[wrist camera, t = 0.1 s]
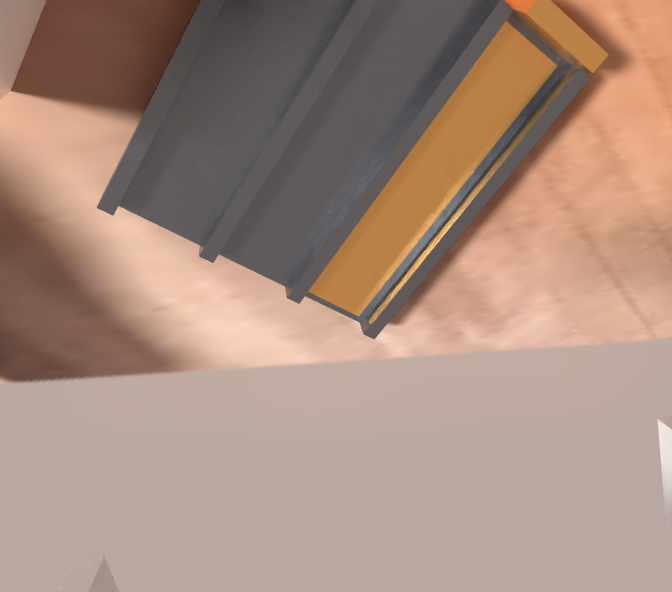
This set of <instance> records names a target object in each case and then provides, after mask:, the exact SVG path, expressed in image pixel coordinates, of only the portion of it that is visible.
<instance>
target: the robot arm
mask: <svg viewBox="0 0 672 592" xmlns="http://www.w3.org/2000/svg"><path fill="white" fill-rule="evenodd" d="M658 428H659V441H660V454H661V466H662V480H663V492H664V505H665V517H666V519H667V520H668V521H669V522H670V523H671V524H672V416H668V417H665V418H660V419H658ZM57 592H119V591H118V589H117V586H116V584H115V581H114V579H113V576H112V574H111V571H110V569H109V566H108V564H107V561H106V559H105V556H102V557H98V558H94V559H90V560H86V561H82V562H78V563H74V564H71V566H70V568H69V570H68V572H67V574H66V576H65V578H64V580H63V582H62V584H61V586H60V588H59V589H58V591H57Z"/></svg>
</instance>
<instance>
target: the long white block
mask: <svg viewBox="0 0 672 592" xmlns="http://www.w3.org/2000/svg"><path fill="white" fill-rule="evenodd" d="M45 3H46V0H0V99H1V98H2V97H4V96H5V95H6V94H8V93H9V92H10V91H11V89H12V86H13V84H14V81H15V79H16V76H17V74H18V71H19V68H20V66H21V63H22V61H23V58H24V56H25V53H26V51H27V48H28V46H29V43H30V41H31V38H32V36H33V33H34V30H35V28H36V25H37V23H38V20H39V18H40V15H41V13H42V10H43V8H44V5H45Z"/></svg>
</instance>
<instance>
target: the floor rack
mask: <svg viewBox="0 0 672 592" xmlns="http://www.w3.org/2000/svg"><path fill="white" fill-rule="evenodd" d="M608 55H609V54H608V53H607V52H606V51H605V50H603V49H602V48H601V47H600V46H599V45H598V44H597V43H596V42H595V41H594V40H593V39H592V38H591V37H590V36H588V35H587V34H586V33H585V32H584V31H583V30H582V29H581V28H580V27H579V26H578V25H577V24H576V23H575V22H573V21H572V20H571V19H570V18H569V17H568V16H567V15H566V14H565V13H564V12H563V11H562V10H561V9H560V8H558V7H557V6H556V5H555V4H554V3H553V2H552V1H551V0H200V2H199V4H198V6H197V8H196V10H195V12H194V14H193V16H192V18H191V20H190V22H189V24H188V26H187V28H186V30H185V32H184V34H183V36H182V38H181V40H180V42H179V44H178V46H177V48H176V50H175V52H174V54H173V56H172V58H171V60H170V62H169V64H168V66H167V68H166V70H165V72H164V74H163V76H162V78H161V80H160V82H159V84H158V86H157V88H156V90H155V92H154V94H153V96H152V98H151V100H150V102H149V104H148V106H147V108H146V110H145V112H144V114H143V116H142V118H141V120H140V122H139V124H138V126H137V128H136V130H135V132H134V133H133V135H132V137H131V139H130V141H129V143H128V145H127V147H126V149H125V151H124V153H123V155H122V157H121V159H120V161H119V163H118V165H117V167H116V169H115V171H114V173H113V175H112V177H111V179H110V181H109V183H108V185H107V187H106V189H105V191H104V193H103V195H102V198H101V200H100V202H99V204H98V206H97V208H98V209H100V210H103V211H105V212H107V213H109V214H111V215H114V213H115V211H116V209H117V207H118V206H120V207H122V208H124V209H126V210H128V211H130V212H132V213H134V214H137V215H139V216H141V217H143V218H145V219H147V220H149V221H151V222H153V223H155V224H157V225H159V226H161V227H163V228H166V229H168V230H170V231H172V232H174V233H176V234H178V235H180V236H182V237H184V238H186V239H188V240H190V241H192V242H194V243H197V244H199V245H200V250H199V256H200V257H202V258H204V259H206V260H208V261H210V262H212V263H213V262H214V261H215V259H216V257H217V256H218V254H219V255H221V256H223V257H226V258H228V259H230V260H232V261H234V262H236V263H238V264H240V265H242V266H244V267H246V268H248V269H250V270H252V271H254V272H257V273H259V274H261V275H263V276H265V277H267V278H269V279H271V280H273V281H275V282H277V283H279V284H281V285H283V286H285V288H286V295H287V298H288V299H290V300H292V301H294V302H297V303H300V302H301V301H302V299H303V298H304V297H305V296H306V297H308V298H310V299H312V300H315V301H317V302H319V303H321V304H323V305H325V306H327V307H329V308H331V309H333V310H335V311H337V312H339V313H341V314H343V315H346V316H348V317H350V318H352V319H354V320H356V321H358V322H360V325H361V328H362V331H363V334H364V335H366V336H368V337H370V338H373V339H375V338H376V337H377V336H378V334H379V333H380V332H381V331H382V329H383V328H384V327H385V326H386V325H387V323H388V322H389V321H390V320H391V319H392V317H393V316H394V315H395V314H396V313H397V311H398V310H399V309H400V308H401V306H402V305H403V304H404V303H405V302H406V300H407V299H408V298H409V297H410V296H411V294H412V293H413V292H414V291H415V290H416V288H417V287H418V286H419V285H420V283H421V282H422V281H423V280H424V279H425V277H426V276H427V275H428V274H429V273H430V271H431V270H432V269H433V268H434V267H435V265H436V264H437V263H438V262H439V260H440V259H441V258H442V257H443V256H444V254H445V253H446V252H447V251H448V250H449V248H450V247H451V246H452V245H453V244H454V242H455V241H456V240H457V239H458V237H459V236H460V235H461V234H462V233H463V231H464V230H465V229H466V228H467V227H468V225H469V224H470V223H471V222H472V221H473V219H474V218H475V217H476V216H477V214H478V213H479V212H480V211H481V210H482V208H483V207H484V206H485V205H486V204H487V202H488V201H489V200H490V199H491V198H492V196H493V195H494V194H495V193H496V191H497V190H498V189H499V188H500V187H501V185H502V184H503V183H504V182H505V181H506V179H507V178H508V177H509V176H510V175H511V173H512V172H513V171H514V170H515V168H516V167H517V166H518V165H519V164H520V162H521V161H522V160H523V159H524V158H525V156H526V155H527V154H528V153H529V152H530V150H531V149H532V148H533V147H534V145H535V144H536V143H537V142H538V141H539V139H540V138H541V137H542V136H543V135H544V133H545V132H546V131H547V130H548V129H549V127H550V126H551V125H552V124H553V122H554V121H555V120H556V119H557V118H558V116H559V115H560V114H561V113H562V112H563V110H564V109H565V108H566V107H567V106H568V104H569V103H570V102H571V101H572V99H573V98H574V97H575V96H576V95H577V93H578V92H579V91H580V90H581V89H582V87H583V86H584V85H585V84H586V83H587V81H588V80H589V79H590V78H591V77H590V76H589V75H587V74H586V73H585V72H584V71H583V70H582V69H584V70H586V71H588V72H591V73H594V72H595V71H596V70H597V68H598V67H599V66H600V65H601V64H602V62H603V61H604V60H605V59H606V57H607V56H608Z"/></svg>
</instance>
